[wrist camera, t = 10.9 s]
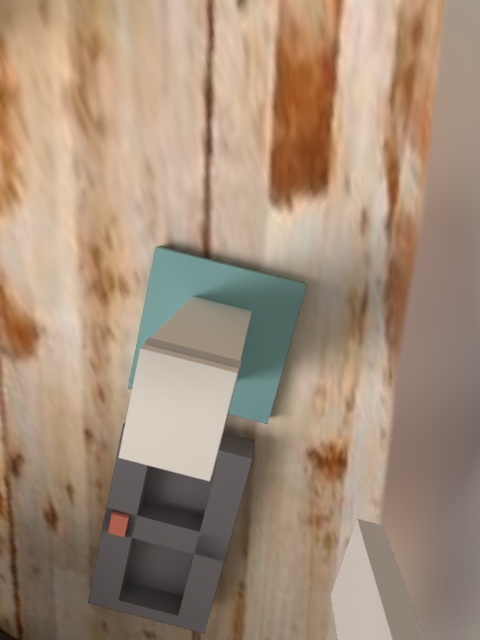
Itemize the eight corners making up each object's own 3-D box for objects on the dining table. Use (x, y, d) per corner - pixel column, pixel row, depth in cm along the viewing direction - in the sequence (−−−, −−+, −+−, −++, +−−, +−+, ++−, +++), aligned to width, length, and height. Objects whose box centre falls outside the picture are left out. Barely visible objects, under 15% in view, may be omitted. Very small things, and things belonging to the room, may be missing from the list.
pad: (267, 417, 32) (267, 424, 31) (132, 383, 32) (127, 388, 32) (305, 282, 30) (306, 285, 29) (159, 246, 30) (155, 247, 29)
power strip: (208, 605, 36) (203, 637, 34) (100, 577, 36) (86, 606, 34) (254, 440, 33) (252, 461, 30) (134, 409, 33) (121, 427, 30)
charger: (234, 381, 31) (210, 482, 19) (176, 366, 31) (117, 458, 19) (252, 310, 30) (238, 372, 18) (191, 295, 30) (138, 346, 18)
